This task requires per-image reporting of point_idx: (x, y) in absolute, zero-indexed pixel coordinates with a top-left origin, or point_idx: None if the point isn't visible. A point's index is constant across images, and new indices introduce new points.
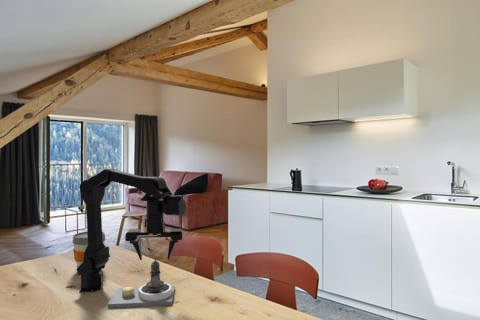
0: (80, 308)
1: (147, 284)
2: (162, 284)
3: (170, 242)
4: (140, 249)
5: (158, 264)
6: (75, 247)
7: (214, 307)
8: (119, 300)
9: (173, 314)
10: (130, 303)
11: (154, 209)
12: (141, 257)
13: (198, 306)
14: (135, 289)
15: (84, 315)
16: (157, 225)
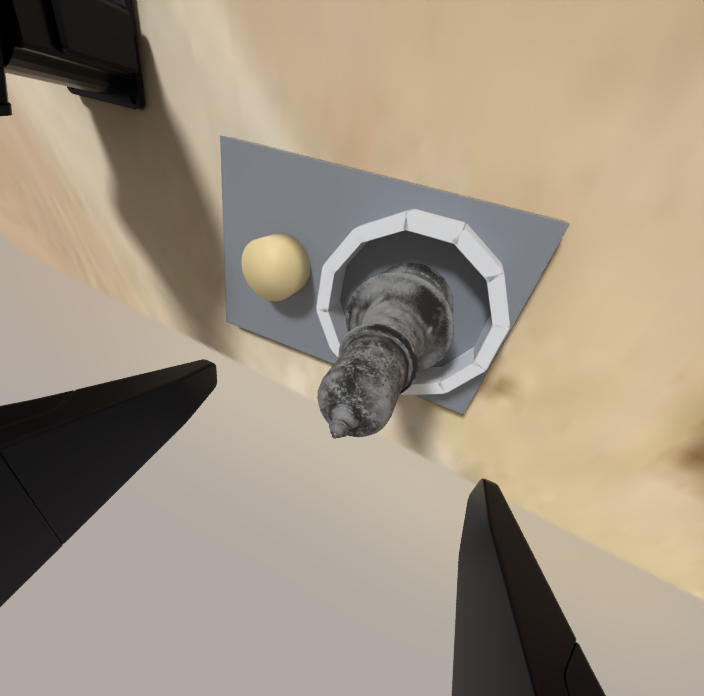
0: (157, 281)
1: (350, 327)
2: (434, 364)
3: None
4: (102, 470)
5: (378, 430)
6: None
7: (640, 508)
8: (258, 309)
9: (446, 463)
10: (301, 349)
11: None
12: (195, 405)
13: (573, 467)
14: (313, 199)
15: (188, 336)
16: None
